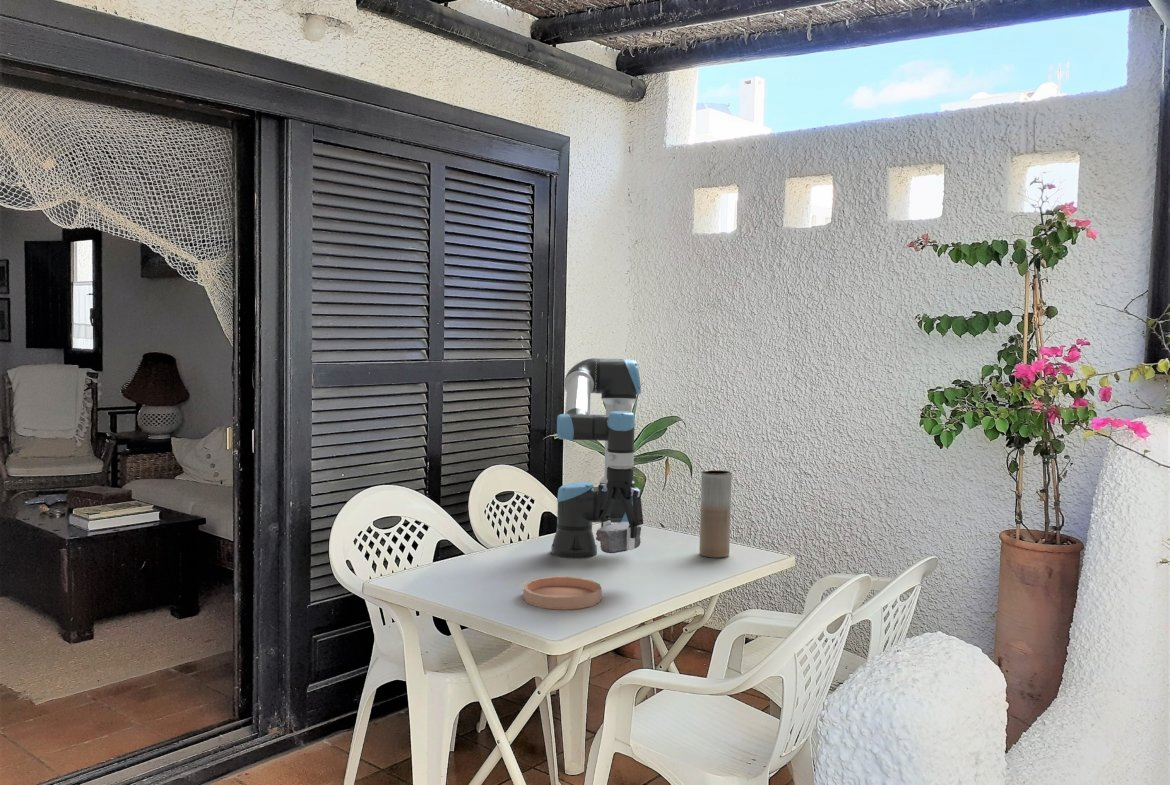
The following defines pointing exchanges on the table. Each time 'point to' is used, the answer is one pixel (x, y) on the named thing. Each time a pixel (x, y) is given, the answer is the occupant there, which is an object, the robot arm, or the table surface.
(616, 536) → the decorative stone
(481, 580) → the table surface
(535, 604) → the saucer
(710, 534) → the vase
